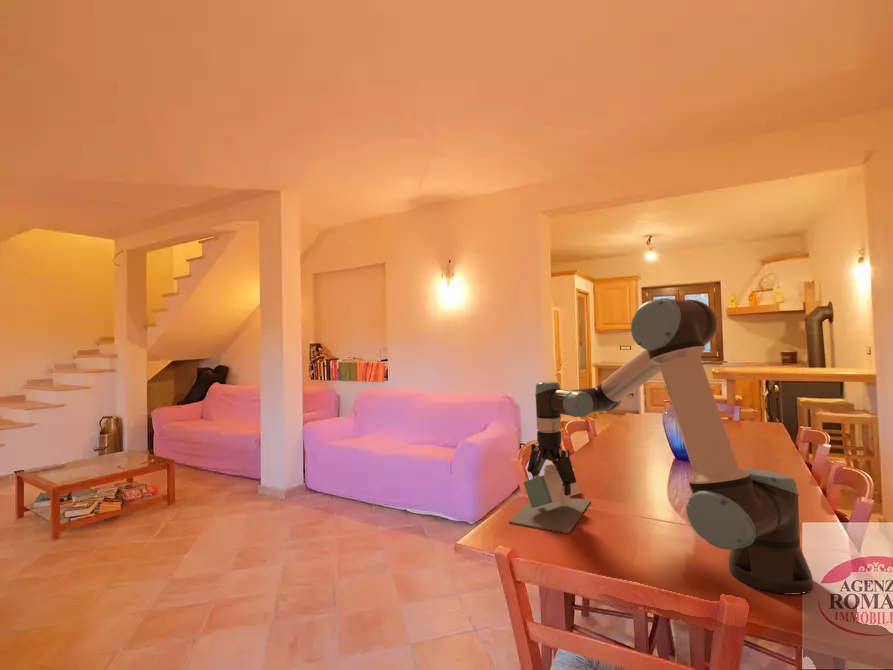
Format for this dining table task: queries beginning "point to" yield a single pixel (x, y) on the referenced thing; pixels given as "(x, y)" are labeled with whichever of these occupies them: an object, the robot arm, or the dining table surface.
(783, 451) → the dining table surface
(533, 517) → the rubber mat
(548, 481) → the green and white block
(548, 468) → the teacup
